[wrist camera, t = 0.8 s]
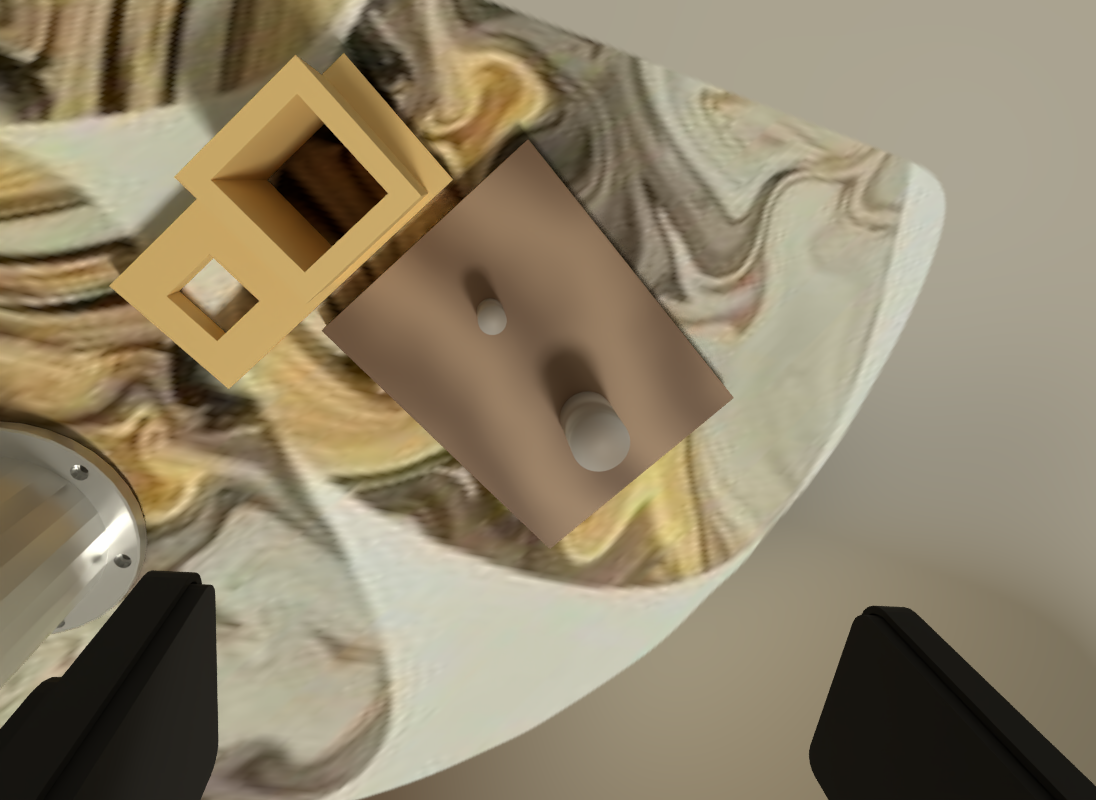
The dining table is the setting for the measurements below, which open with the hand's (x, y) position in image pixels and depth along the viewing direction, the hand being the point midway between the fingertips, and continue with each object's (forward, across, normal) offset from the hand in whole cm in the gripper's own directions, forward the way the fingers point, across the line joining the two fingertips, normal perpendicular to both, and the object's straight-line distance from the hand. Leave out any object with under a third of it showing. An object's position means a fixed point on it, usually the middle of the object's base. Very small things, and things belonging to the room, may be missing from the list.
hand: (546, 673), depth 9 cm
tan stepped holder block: (+27, +10, -3) cm, 29 cm away
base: (+27, -3, +2) cm, 27 cm away
